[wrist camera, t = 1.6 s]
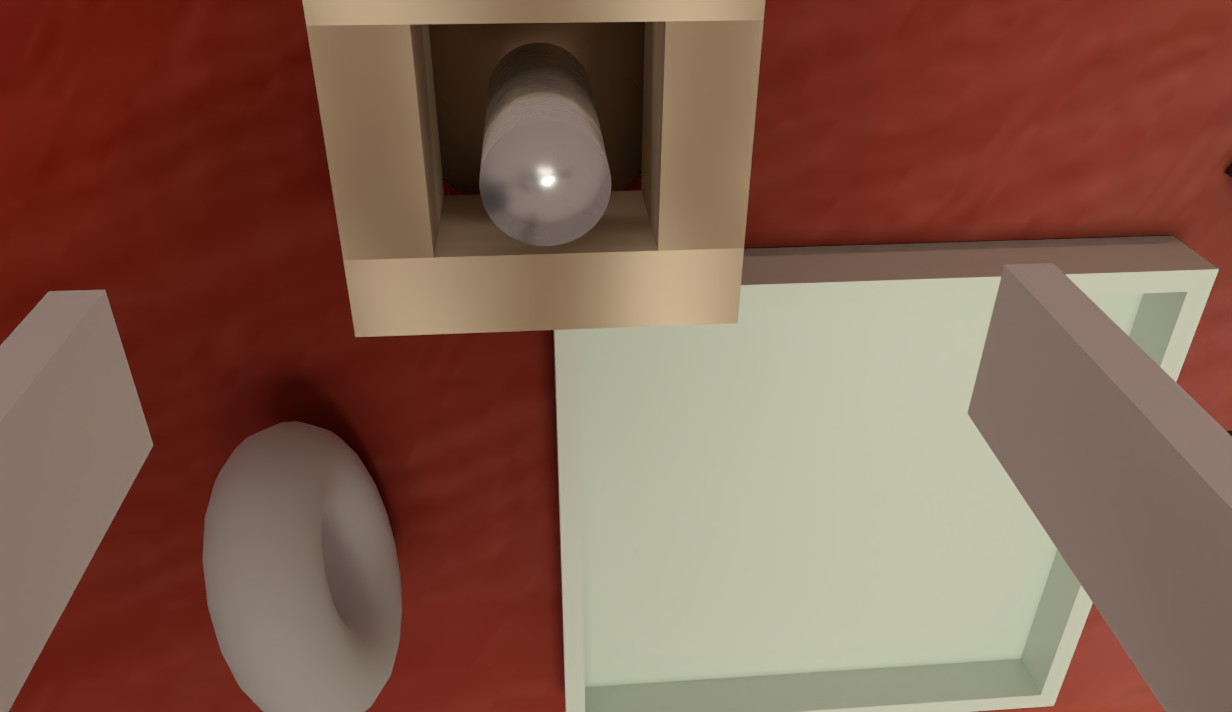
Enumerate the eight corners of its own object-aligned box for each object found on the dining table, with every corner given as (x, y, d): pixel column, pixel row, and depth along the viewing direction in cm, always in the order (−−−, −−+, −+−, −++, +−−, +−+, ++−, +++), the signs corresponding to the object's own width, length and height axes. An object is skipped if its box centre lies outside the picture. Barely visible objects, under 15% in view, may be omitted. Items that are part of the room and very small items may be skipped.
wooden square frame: (375, 267, 28) (355, 337, 25) (322, -109, 23) (288, -87, 20) (711, 257, 29) (737, 323, 26) (736, -110, 24) (772, -88, 20)
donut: (233, 377, 33) (136, 589, 25) (329, 353, 33) (263, 559, 25) (344, 577, 39) (294, 808, 30) (426, 558, 38) (400, 784, 30)
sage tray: (564, 689, 43) (566, 739, 41) (550, 254, 32) (553, 291, 30) (1027, 659, 45) (1053, 705, 43) (1172, 235, 33) (1218, 269, 31)
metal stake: (427, 183, 30) (393, 337, 22) (401, -66, 26) (350, 12, 18) (655, 177, 31) (703, 326, 23) (662, -67, 27) (724, 7, 19)
